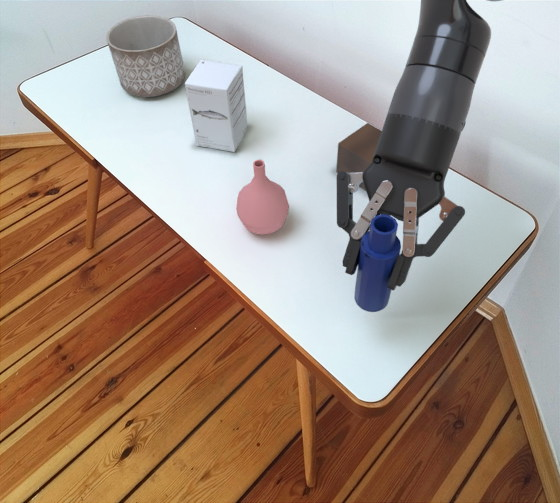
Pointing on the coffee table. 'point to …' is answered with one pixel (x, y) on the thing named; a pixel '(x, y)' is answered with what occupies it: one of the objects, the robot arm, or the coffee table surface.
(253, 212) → the pink bud vase
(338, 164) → the block
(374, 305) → the bottle
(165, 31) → the planter
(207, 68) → the white packaging box
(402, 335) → the coffee table surface
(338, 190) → the robot arm
